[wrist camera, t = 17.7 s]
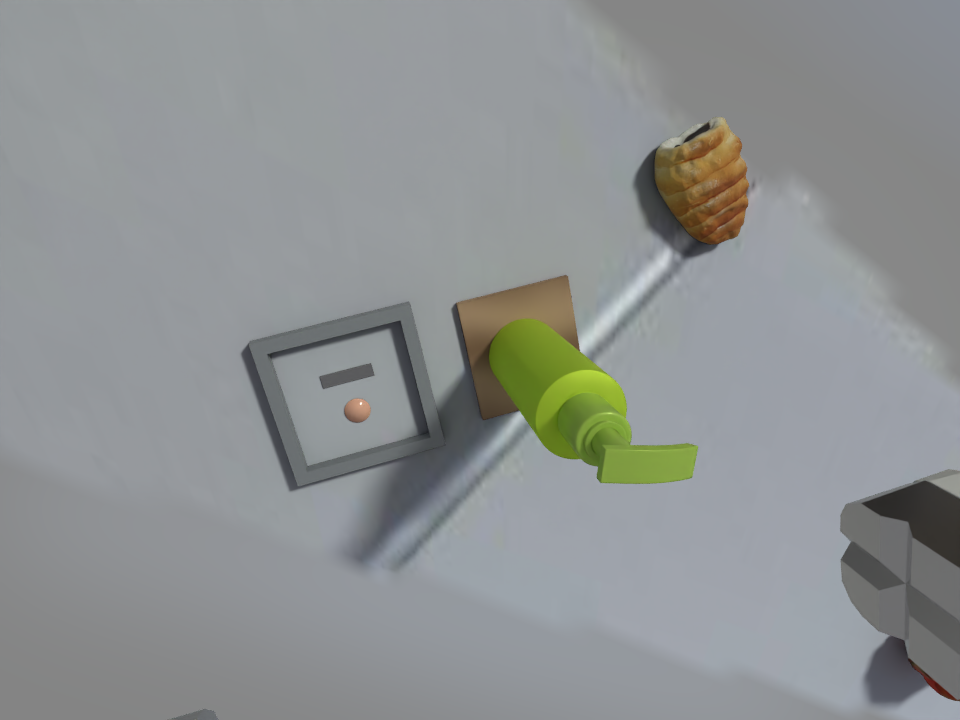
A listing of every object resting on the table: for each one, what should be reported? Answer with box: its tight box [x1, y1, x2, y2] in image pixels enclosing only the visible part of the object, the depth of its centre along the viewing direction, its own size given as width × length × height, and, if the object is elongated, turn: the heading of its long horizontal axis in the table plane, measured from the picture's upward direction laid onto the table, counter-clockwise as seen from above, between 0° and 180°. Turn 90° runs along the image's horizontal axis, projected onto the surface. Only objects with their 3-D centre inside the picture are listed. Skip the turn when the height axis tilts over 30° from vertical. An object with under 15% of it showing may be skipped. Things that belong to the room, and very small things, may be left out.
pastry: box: [655, 117, 749, 245], centre depth 49 cm, size 9×7×4 cm
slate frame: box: [249, 302, 445, 486], centre depth 49 cm, size 12×12×1 cm
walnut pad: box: [456, 275, 580, 420], centre depth 51 cm, size 10×9×1 cm
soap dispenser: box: [489, 319, 698, 484], centre depth 41 cm, size 6×7×20 cm
